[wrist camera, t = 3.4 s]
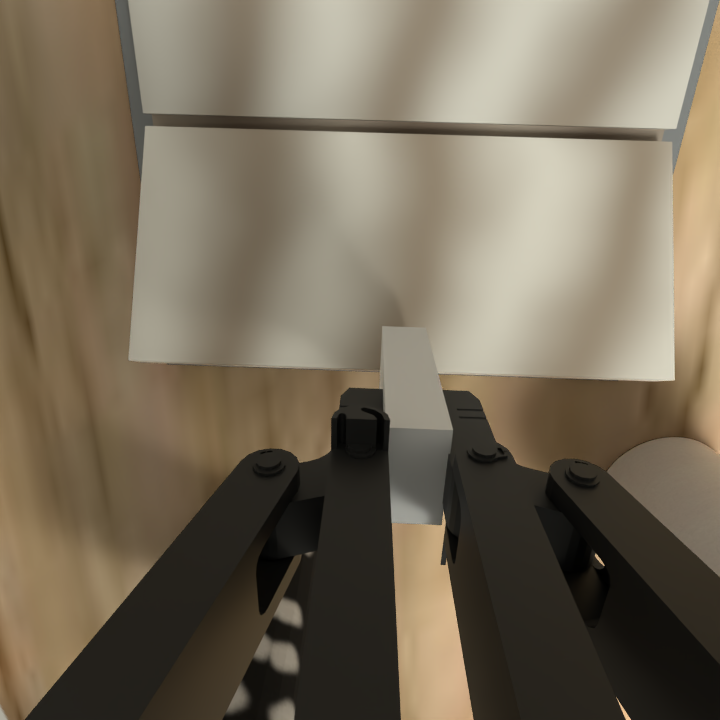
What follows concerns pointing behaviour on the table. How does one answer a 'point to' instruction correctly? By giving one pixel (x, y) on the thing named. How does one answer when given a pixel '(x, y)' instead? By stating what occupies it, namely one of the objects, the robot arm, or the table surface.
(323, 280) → the plank
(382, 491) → the robot arm
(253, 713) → the spotted tube
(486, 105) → the laid board
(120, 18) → the underlay
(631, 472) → the coffee cup
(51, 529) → the table surface
